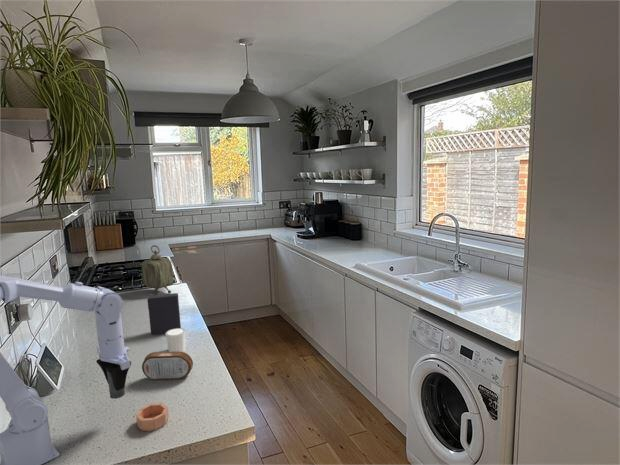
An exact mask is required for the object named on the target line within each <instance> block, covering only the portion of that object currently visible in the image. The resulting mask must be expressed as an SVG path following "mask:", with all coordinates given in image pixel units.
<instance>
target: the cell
mask: <svg viewBox="0 0 620 465" xmlns="http://www.w3.org/2000/svg"><path fill="white" fill-rule="evenodd" d="M107 375H108V382H107V384H108V389H109V390H108V391H109V398H110V399H113V400H116V399H119V398H122V397H123V396H124V395H125V394H126V390H125V388H123V389H121V390H118V391H116V390H115V388H114V385H113V381H112V378H111V376H110V374H109V372H108V371H107Z"/></svg>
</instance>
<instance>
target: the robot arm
mask: <svg viewBox="0 0 620 465" xmlns="http://www.w3.org/2000/svg"><path fill="white" fill-rule="evenodd" d="M17 298H27V299H35V300H36V299H37V300H44V301H45V300H46V301H54V302H58V303H59V305H60V307H61V308H63V309H69V310H77V311H83V312H90V313H91V312H94V315H95V326H96V334H97V341H98V345H97V346H96V351H97V354H98V357H99V358H98V359H97V360H96V363H97V364H98V366H99V367H100V368H101V371H102V372H103V374H104V377H105V379H106V382H107V383H108V375H107V371H108V372H109V374H110V376H111V378H112V381H113V385H114V388H115V390H116V391H118V390H121V389H123V388H125V387H126V381H127V376H128V373H129V370H130V368H131V366H132V361H131V360H130V359H129V358H128V354H127V353H128V352H129V351H130V350H131V349H130V347H128V346H125V340H124V339H125V338H124V330H123V322H122V321H123V320H122V314H121V311H122V310H123V307H124V305H125V304H124V303H125V302H124V300H123V298H122V296H121V295H119V294H118V293H117V292H116V291H114V290H111V289H110V288H106V287H102V286H96V287H92V286H88V285H84V283H83V282H81V281H75V282H74V283H73V282H70V283H67V284H64V285H63V286H57V285H53V284H48V283H42V282H38V281H33V280H29V279H23V278H20V277H19V278H18V277H14V276H7V275H1V274H0V303H1V302H4V303H5V304H7V303H9V302H11V301H14V300H15V299H17ZM0 398H1V400H2V402H3V403H4V404H5V405H4V406H5V410H6V411H7V412H8V414H9V416H10V418H11V419H10V422H9V424H8V427H7V428H6V429H5V430H3V431H1V432H0V464H1V465H43V464H45V463H47V462H50V461H52V460H54V459H56V458H58V457H59V456H60V453H59V451H58V450H57V449H56V447H55V446H54V445H53V442H52V436H51V428H50V423H49V417H48V416H49V415H48V414H49V408H48V406H47V405H46V404H45V403H44V402H43V401H42V399H41V397H40V396H39V392H38V391H37V390H36V389H35V388H33V387H31V386H28V385H27V384H25V382H24V381H23V380H22V379H21V378H20V377H19V375H18V374H17V372H16V371H15V370H14V368H13V367H12V366H11V364H10V363H9V362H8V361H7V359H6V358H5V356H4V355H3V353H2V351H0Z"/></svg>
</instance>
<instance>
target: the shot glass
mask: <svg viewBox="0 0 620 465" xmlns="http://www.w3.org/2000/svg"><path fill="white" fill-rule="evenodd" d="M186 331H187V330H186V329H184V328H183V327H181V328H175V329H171V330H169V331H167V332H166V333H164V334H165V338H166V344H167V349H168V352H175V351H180V352H185V351H186V344H187V343H186V337H187V336H186V333H187V332H186Z"/></svg>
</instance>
